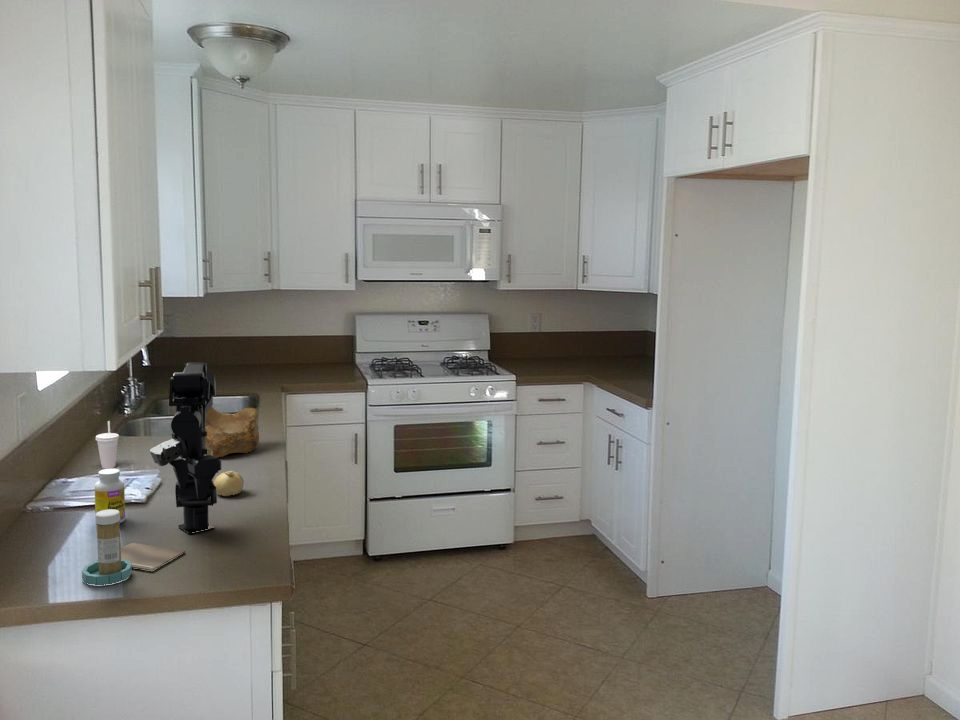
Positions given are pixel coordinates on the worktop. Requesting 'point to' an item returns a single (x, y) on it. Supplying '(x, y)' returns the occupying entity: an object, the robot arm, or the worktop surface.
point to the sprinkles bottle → (108, 541)
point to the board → (147, 555)
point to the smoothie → (107, 448)
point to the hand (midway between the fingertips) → (191, 494)
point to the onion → (229, 483)
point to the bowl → (92, 575)
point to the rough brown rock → (231, 432)
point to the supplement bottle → (110, 492)
